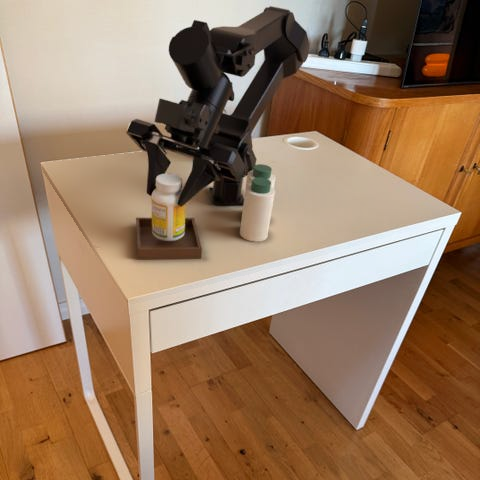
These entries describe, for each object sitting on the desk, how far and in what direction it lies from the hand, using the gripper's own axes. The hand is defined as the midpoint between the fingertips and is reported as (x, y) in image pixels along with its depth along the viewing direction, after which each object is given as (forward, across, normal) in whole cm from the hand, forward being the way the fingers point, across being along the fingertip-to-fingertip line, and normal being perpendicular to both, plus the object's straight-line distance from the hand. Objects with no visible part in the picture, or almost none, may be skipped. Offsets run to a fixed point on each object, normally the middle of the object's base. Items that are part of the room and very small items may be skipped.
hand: (163, 200), depth 70 cm
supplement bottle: (+4, 0, +6) cm, 7 cm away
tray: (+5, 0, +7) cm, 8 cm away
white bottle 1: (-7, +8, +19) cm, 22 cm away
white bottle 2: (-3, +11, +15) cm, 19 cm away
